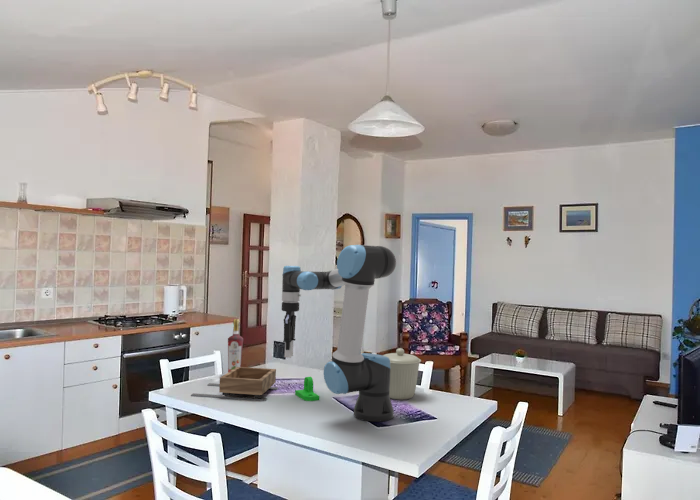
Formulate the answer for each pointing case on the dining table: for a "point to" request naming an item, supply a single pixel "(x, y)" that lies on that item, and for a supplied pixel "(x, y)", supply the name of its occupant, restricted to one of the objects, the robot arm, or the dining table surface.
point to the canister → (403, 374)
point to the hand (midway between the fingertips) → (288, 356)
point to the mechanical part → (307, 391)
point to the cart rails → (231, 396)
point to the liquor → (235, 347)
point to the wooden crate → (247, 381)
